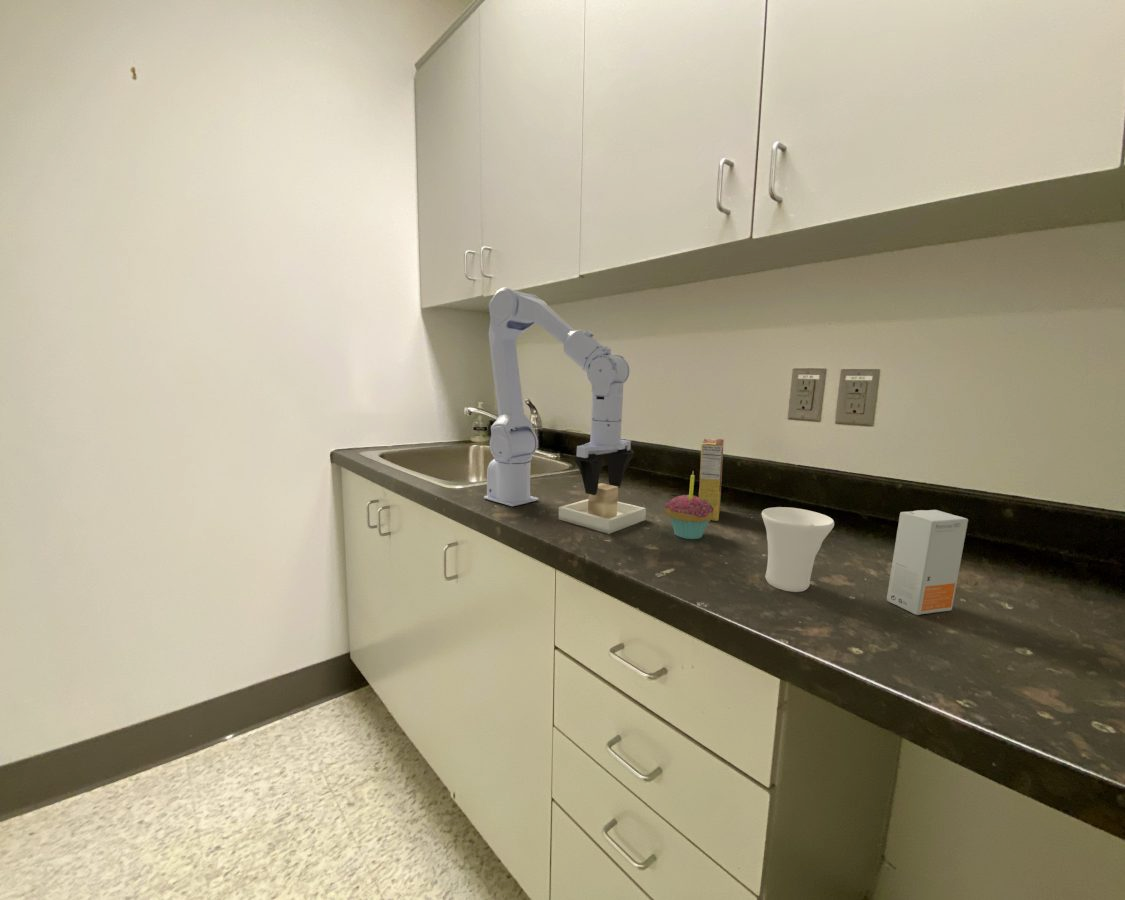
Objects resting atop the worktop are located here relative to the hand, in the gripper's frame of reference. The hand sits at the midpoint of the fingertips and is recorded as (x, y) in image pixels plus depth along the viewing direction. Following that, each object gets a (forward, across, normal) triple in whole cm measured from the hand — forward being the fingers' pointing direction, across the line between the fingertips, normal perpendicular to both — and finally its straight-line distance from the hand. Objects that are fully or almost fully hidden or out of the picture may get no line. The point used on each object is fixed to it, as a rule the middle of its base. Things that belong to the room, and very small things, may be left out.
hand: (603, 490), depth 93 cm
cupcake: (+6, +4, -16) cm, 18 cm away
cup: (+6, -5, -36) cm, 37 cm away
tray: (+6, 0, 0) cm, 6 cm away
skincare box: (+6, 0, -50) cm, 50 cm away
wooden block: (+5, 0, 0) cm, 5 cm away
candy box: (+6, +19, -13) cm, 24 cm away
